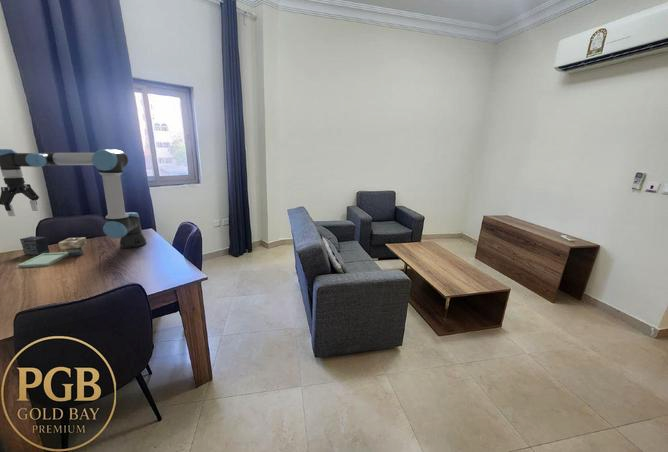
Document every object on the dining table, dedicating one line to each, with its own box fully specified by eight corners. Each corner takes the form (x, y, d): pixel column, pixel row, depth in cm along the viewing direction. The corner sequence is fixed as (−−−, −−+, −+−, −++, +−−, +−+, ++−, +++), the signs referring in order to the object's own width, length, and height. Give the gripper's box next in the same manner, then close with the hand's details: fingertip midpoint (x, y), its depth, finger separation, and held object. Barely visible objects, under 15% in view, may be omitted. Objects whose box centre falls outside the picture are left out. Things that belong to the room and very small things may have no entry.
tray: (70, 254, 169) (70, 251, 169) (48, 265, 152) (48, 263, 152) (44, 255, 166) (43, 253, 166) (18, 267, 149) (17, 265, 149)
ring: (87, 243, 172) (85, 237, 171) (77, 248, 163) (76, 242, 162) (70, 243, 170) (68, 238, 169) (59, 248, 162) (58, 242, 160)
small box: (50, 252, 171) (46, 236, 169) (39, 256, 165) (34, 240, 162) (36, 251, 172) (31, 235, 169) (23, 255, 166) (19, 239, 163)
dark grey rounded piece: (86, 252, 172) (82, 236, 169) (79, 256, 166) (74, 240, 163) (73, 253, 171) (69, 236, 168) (65, 257, 164) (61, 240, 161)
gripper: (27, 175, 164) (37, 208, 170) (-20, 179, 140) (-7, 218, 146) (41, 175, 165) (50, 208, 171) (-4, 179, 141) (8, 218, 147)
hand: (24, 213), depth 159 cm, fingers open, 13 cm apart
